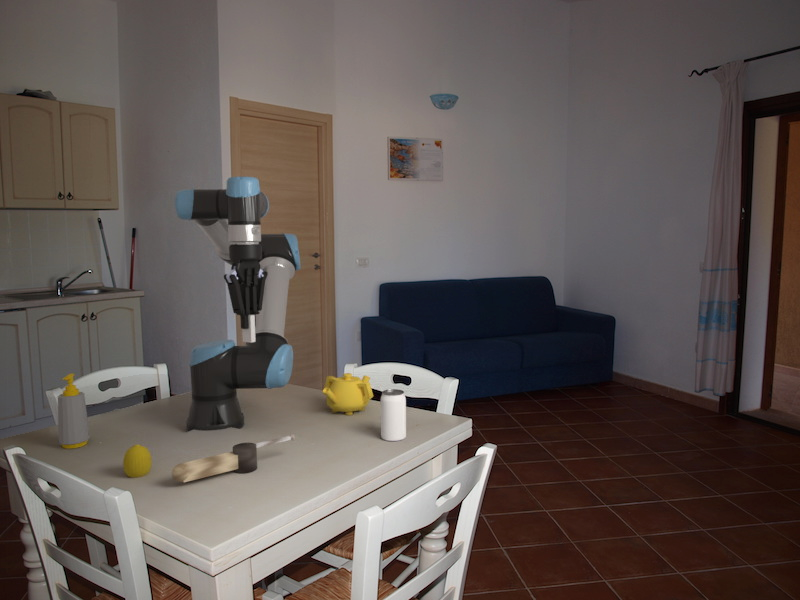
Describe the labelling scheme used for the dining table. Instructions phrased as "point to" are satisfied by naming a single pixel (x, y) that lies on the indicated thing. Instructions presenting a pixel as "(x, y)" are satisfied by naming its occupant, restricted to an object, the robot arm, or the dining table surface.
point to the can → (393, 415)
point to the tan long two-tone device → (224, 462)
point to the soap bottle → (72, 417)
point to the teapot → (347, 393)
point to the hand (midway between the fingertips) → (249, 341)
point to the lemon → (137, 461)
